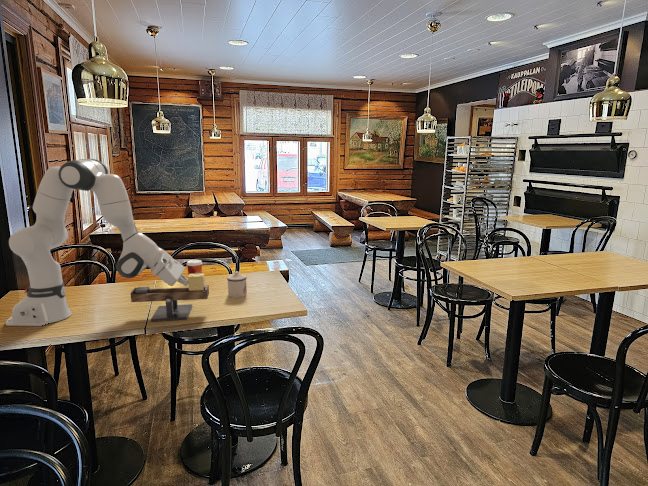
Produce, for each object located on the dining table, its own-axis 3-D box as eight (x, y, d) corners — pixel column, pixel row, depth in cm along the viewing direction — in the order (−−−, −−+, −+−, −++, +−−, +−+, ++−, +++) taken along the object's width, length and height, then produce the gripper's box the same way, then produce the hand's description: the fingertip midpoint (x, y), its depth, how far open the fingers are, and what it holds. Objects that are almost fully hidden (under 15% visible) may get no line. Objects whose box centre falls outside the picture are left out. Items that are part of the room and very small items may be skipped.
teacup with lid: (248, 297, 199) (247, 273, 196) (228, 299, 196) (227, 275, 194) (245, 289, 210) (244, 267, 208) (226, 291, 207) (225, 268, 205)
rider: (189, 295, 175) (188, 276, 173) (190, 291, 179) (189, 273, 178) (203, 294, 176) (203, 276, 174) (205, 291, 180) (204, 273, 179)
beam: (131, 304, 171) (130, 292, 170) (136, 298, 177) (135, 287, 176) (207, 301, 175) (206, 289, 174) (209, 295, 182) (208, 284, 181)
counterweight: (135, 297, 172) (135, 290, 171) (138, 293, 176) (138, 287, 175) (147, 296, 172) (146, 289, 172) (149, 293, 177) (149, 286, 176)
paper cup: (199, 290, 208) (197, 263, 205) (185, 289, 209) (183, 262, 206) (206, 286, 215) (205, 259, 212) (193, 285, 217) (191, 259, 214)
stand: (151, 321, 169) (149, 300, 168) (159, 308, 184) (157, 289, 182) (187, 319, 172) (185, 298, 170) (192, 306, 186) (191, 287, 184)
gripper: (161, 261, 183) (186, 282, 186) (150, 274, 163) (178, 297, 166) (171, 251, 182) (196, 272, 186) (161, 263, 163) (189, 285, 166)
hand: (187, 284), depth 176 cm, fingers closed, pressing on rider
